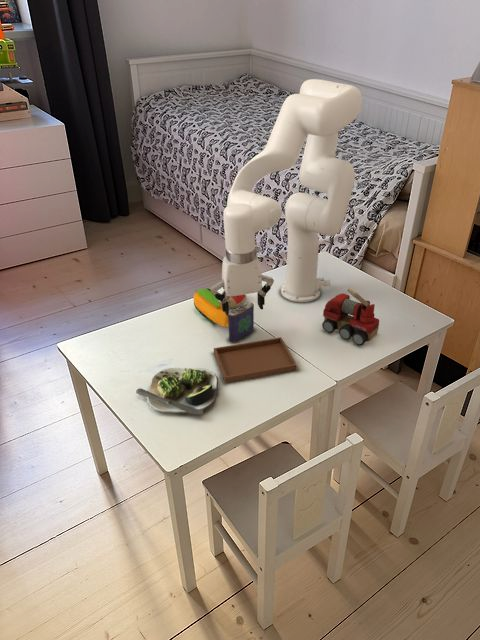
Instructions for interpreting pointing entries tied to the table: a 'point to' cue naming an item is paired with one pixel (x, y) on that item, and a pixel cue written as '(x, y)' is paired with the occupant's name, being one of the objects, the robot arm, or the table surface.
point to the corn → (210, 307)
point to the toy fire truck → (351, 318)
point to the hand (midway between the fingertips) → (243, 309)
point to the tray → (254, 359)
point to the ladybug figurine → (235, 300)
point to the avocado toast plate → (182, 390)
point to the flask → (241, 322)
